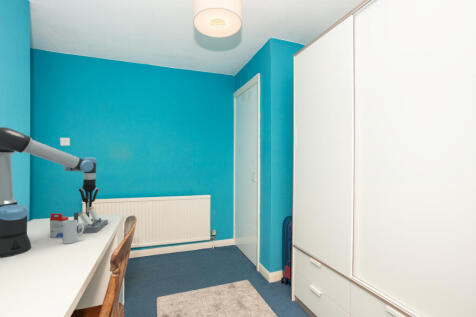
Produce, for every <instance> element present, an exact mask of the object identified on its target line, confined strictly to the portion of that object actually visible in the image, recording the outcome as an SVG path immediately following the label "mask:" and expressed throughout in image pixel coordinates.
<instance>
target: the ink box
mask: <svg viewBox="0 0 476 317" xmlns="http://www.w3.org/2000/svg"><path fill="white" fill-rule="evenodd" d="M68 220H69V216H63V213H50V218H49V237H50V238H61V239H63V222H64V221H68Z"/></svg>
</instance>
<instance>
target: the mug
mask: <svg viewBox="0 0 476 317" xmlns="http://www.w3.org/2000/svg"><path fill="white" fill-rule="evenodd" d="M77 226H78V227H79V226H80V227H81V228H82V231H81V233H80V232H79V233H78V231H77ZM84 226H85V225H84V223H83V221H80V222H78V223H77V220H74V219H68V221H64V222H63V237H62V241H63V244H64V245H69V244H74V243H76V242H77V238H78V237H81V236H82V235H83V234H84V233H83V231H84Z"/></svg>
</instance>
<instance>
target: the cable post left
mask: <svg viewBox="0 0 476 317" xmlns="http://www.w3.org/2000/svg"><path fill="white" fill-rule="evenodd" d="M78 214H79V212H74V213H73V220H77V223H79V215H78ZM78 231H79V225H78V226H77V232H78Z"/></svg>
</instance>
